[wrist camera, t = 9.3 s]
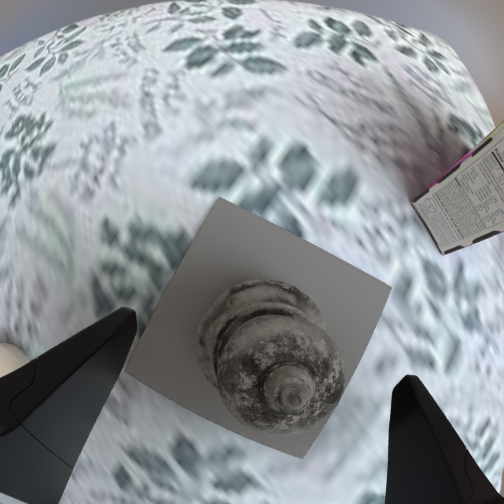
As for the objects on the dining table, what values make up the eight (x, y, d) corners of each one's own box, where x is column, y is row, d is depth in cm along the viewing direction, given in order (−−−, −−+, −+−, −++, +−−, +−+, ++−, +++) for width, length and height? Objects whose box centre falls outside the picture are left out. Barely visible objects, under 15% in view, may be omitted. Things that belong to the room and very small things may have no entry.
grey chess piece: (237, 267, 17) (222, 162, 5) (328, 315, 16) (481, 311, 5) (188, 357, 16) (76, 441, 4) (280, 404, 15) (341, 547, 3)
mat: (301, 454, 15) (302, 458, 14) (128, 369, 16) (124, 370, 15) (387, 288, 17) (391, 287, 17) (219, 200, 18) (219, 196, 18)
